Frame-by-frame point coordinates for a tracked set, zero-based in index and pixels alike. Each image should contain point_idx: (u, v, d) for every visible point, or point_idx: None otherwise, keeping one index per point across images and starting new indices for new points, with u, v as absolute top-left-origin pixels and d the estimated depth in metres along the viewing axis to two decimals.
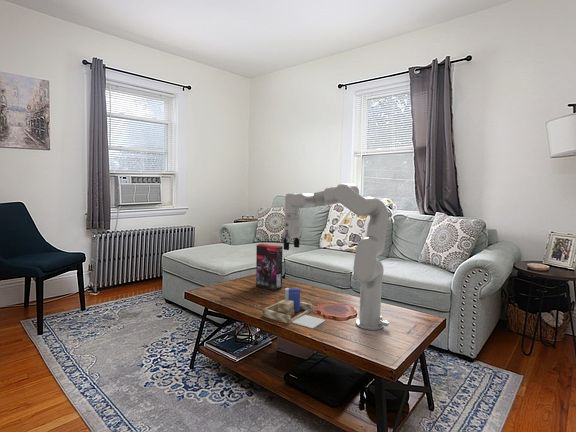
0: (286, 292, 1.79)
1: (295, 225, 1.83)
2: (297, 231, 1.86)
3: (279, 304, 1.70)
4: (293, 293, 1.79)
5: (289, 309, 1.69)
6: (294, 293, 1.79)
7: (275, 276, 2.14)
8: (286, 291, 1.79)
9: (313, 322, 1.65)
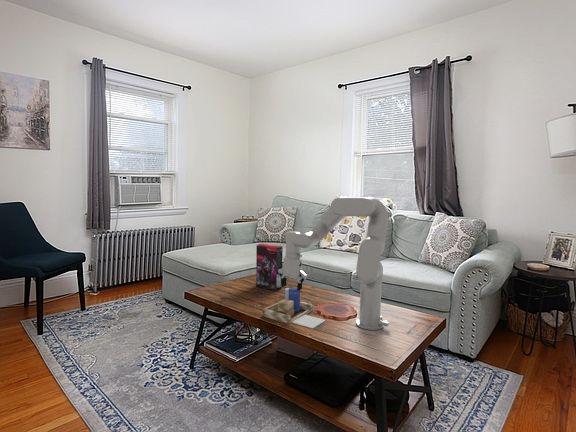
0: (286, 292, 1.79)
1: None
2: None
3: (279, 304, 1.70)
4: (293, 293, 1.79)
5: (289, 309, 1.69)
6: (294, 293, 1.79)
7: (275, 276, 2.14)
8: (286, 291, 1.79)
9: (313, 322, 1.65)
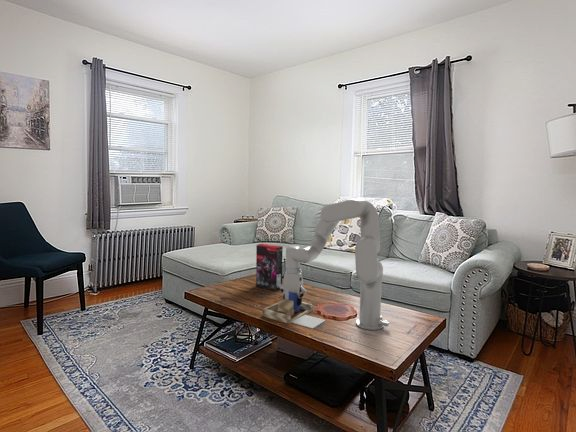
0: (286, 292, 1.79)
1: None
2: None
3: (279, 304, 1.69)
4: (293, 293, 1.79)
5: (289, 309, 1.69)
6: (294, 293, 1.79)
7: (275, 276, 2.14)
8: (286, 291, 1.79)
9: (313, 322, 1.65)
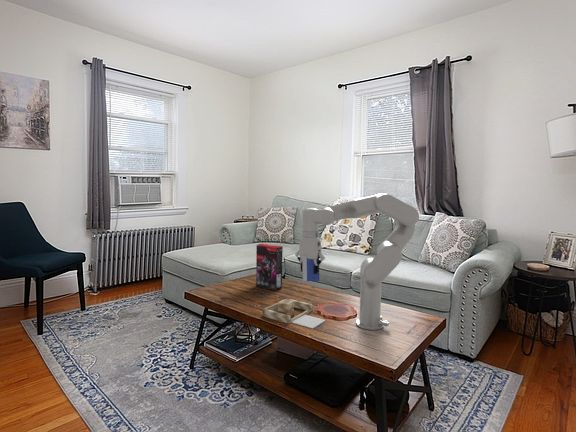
0: (304, 259, 1.63)
1: None
2: None
3: (279, 304, 1.69)
4: (312, 260, 1.63)
5: (289, 309, 1.69)
6: (313, 260, 1.63)
7: (275, 276, 2.14)
8: (304, 258, 1.63)
9: (313, 322, 1.65)
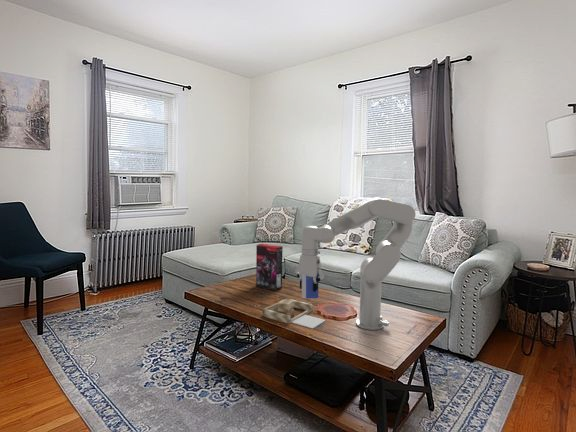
0: (303, 277, 1.63)
1: None
2: None
3: (279, 304, 1.69)
4: (311, 278, 1.63)
5: (289, 309, 1.69)
6: (312, 277, 1.63)
7: (275, 276, 2.14)
8: (303, 276, 1.63)
9: (313, 322, 1.65)
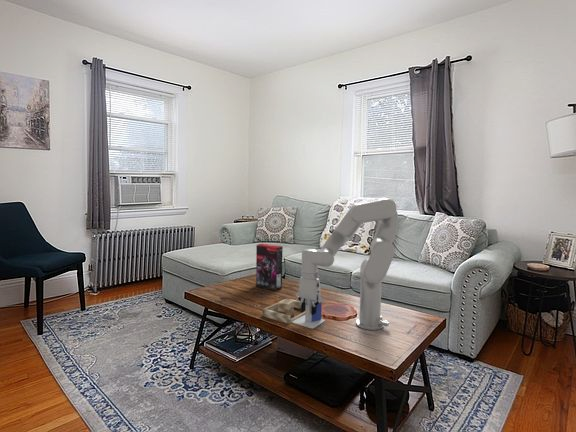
0: (310, 301, 1.64)
1: None
2: None
3: (279, 304, 1.69)
4: None
5: (289, 309, 1.69)
6: (317, 300, 1.66)
7: (275, 276, 2.14)
8: (310, 300, 1.64)
9: (313, 322, 1.65)
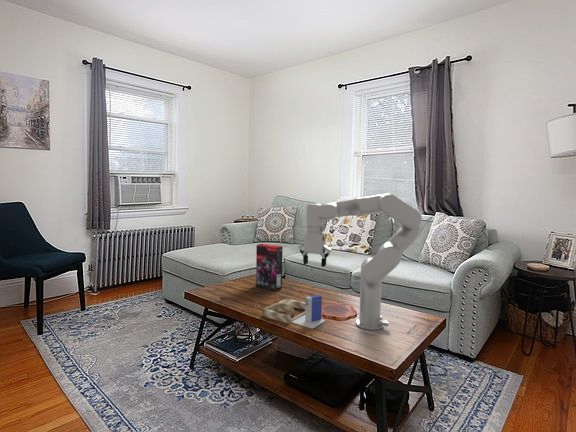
0: (310, 301, 1.64)
1: None
2: None
3: (279, 304, 1.69)
4: (316, 301, 1.66)
5: (289, 309, 1.69)
6: (317, 300, 1.66)
7: (275, 276, 2.14)
8: (310, 300, 1.64)
9: (313, 322, 1.65)
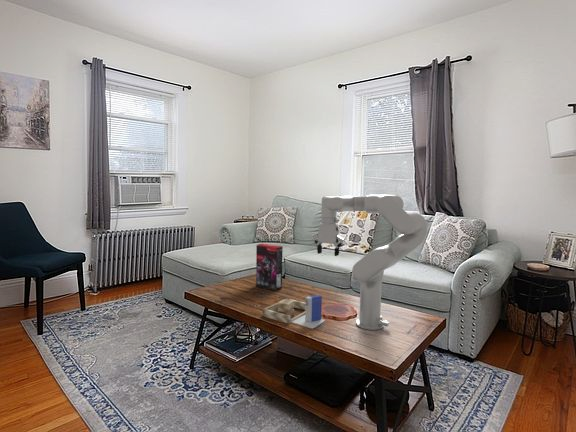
0: (310, 301, 1.64)
1: None
2: None
3: (279, 304, 1.69)
4: (316, 301, 1.66)
5: (289, 309, 1.69)
6: (317, 300, 1.66)
7: (275, 276, 2.14)
8: (310, 300, 1.64)
9: (313, 322, 1.65)
